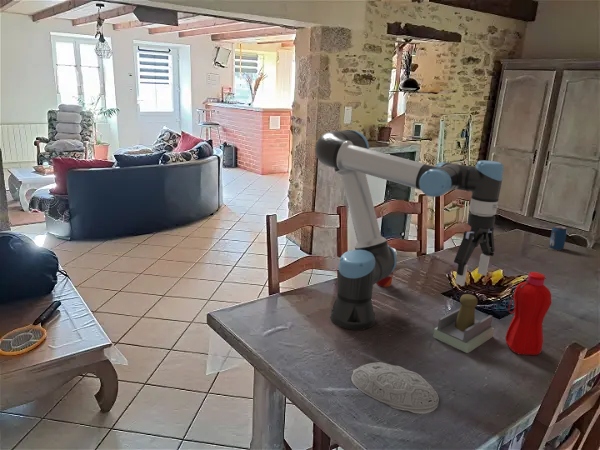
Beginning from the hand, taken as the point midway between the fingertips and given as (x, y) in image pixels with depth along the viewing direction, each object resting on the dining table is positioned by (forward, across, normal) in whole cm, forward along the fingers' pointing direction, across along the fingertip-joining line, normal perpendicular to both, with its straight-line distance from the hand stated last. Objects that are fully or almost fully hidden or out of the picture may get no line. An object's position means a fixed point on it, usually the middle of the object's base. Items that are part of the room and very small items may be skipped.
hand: (471, 279), depth 141 cm
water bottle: (+20, +8, -15) cm, 26 cm away
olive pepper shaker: (+17, 0, 0) cm, 17 cm away
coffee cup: (+21, +13, +42) cm, 49 cm away
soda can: (+20, +126, +18) cm, 129 cm away
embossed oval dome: (+21, -39, -3) cm, 45 cm away
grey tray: (+20, 0, 0) cm, 20 cm away
